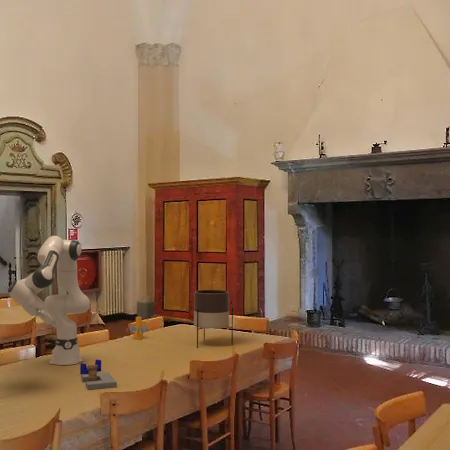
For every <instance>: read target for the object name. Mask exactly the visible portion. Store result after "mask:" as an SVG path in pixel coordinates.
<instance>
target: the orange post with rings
mask: <svg viewBox="0 0 450 450" xmlns="http://www.w3.org/2000/svg"><path fill="white" fill-rule="evenodd" d="M142 322H143V321H142V316H135V325H132V326H131V327H130V328H129V332H130V333H133V338H134V340H142V339H143V337H144V333H146V332H147V330H148V327H147V326H146V325H143V326H142V324H143V323H142ZM143 329H144V330H143Z"/></svg>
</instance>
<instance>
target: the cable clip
mask: <svg viewBox="0 0 450 450" xmlns="http://www.w3.org/2000/svg"><path fill="white" fill-rule="evenodd" d="M79 363H80V364H79V365H80V367H79V374H81V375H84V374H89V369H88V368H87V366H88V365H87V363H85V362H82V363H81V362H79ZM94 365H98V368H97V373H98V372H99V373H100V372H101V371H102V360H101V359H99V358H98V359H95V361H94ZM81 375H80V376H81Z"/></svg>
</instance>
